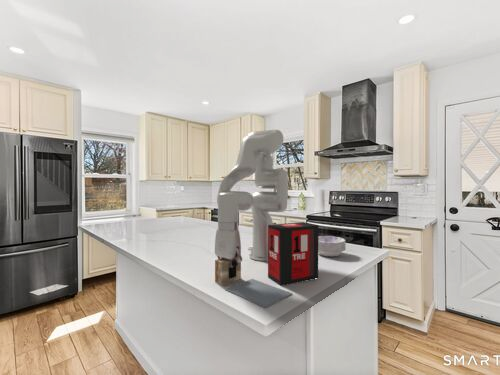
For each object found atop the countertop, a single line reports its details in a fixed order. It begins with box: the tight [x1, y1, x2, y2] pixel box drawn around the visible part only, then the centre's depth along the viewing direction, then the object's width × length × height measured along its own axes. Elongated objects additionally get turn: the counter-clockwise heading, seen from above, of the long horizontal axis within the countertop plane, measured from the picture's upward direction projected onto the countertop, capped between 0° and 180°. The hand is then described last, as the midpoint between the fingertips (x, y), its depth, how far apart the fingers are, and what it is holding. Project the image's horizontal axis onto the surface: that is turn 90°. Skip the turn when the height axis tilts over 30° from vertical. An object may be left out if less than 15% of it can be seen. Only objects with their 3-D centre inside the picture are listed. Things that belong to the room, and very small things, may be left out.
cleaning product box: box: [267, 221, 319, 287], centre depth 99 cm, size 16×9×20 cm, turn 115°
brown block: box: [214, 258, 242, 286], centre depth 97 cm, size 4×9×8 cm, turn 135°
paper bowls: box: [318, 235, 347, 258], centre depth 132 cm, size 15×15×8 cm
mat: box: [224, 278, 293, 309], centre depth 86 cm, size 18×13×1 cm
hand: (228, 275), depth 97 cm, fingers closed on brown block, 4 cm apart
